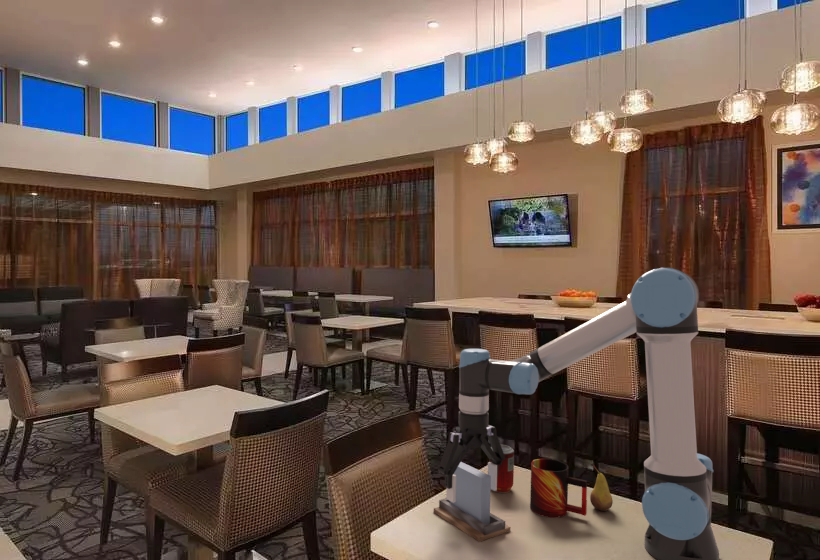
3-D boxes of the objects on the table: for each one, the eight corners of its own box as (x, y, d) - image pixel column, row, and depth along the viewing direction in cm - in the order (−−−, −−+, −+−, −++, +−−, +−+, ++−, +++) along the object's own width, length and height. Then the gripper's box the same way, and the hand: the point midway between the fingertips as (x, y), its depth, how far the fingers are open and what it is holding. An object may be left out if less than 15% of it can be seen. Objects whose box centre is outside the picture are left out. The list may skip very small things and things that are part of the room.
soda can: (516, 487, 157) (517, 446, 157) (508, 496, 151) (509, 452, 151) (493, 482, 160) (494, 442, 160) (485, 490, 154) (486, 448, 154)
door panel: (489, 524, 131) (490, 475, 131) (480, 527, 129) (481, 478, 129) (458, 506, 141) (459, 461, 141) (449, 508, 139) (450, 463, 139)
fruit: (605, 516, 140) (606, 470, 139) (585, 508, 144) (587, 463, 144) (616, 510, 143) (618, 466, 143) (597, 503, 148) (598, 459, 147)
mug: (587, 520, 137) (588, 474, 137) (532, 516, 138) (533, 470, 138) (579, 504, 146) (580, 461, 146) (528, 500, 148) (529, 457, 148)
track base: (510, 530, 130) (510, 519, 130) (479, 541, 124) (479, 529, 124) (463, 503, 145) (463, 493, 145) (433, 512, 139) (433, 501, 139)
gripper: (499, 401, 144) (498, 479, 145) (424, 413, 130) (423, 500, 131) (519, 407, 138) (518, 489, 138) (443, 420, 124) (442, 511, 124)
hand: (472, 494), depth 134 cm, fingers open, 13 cm apart
